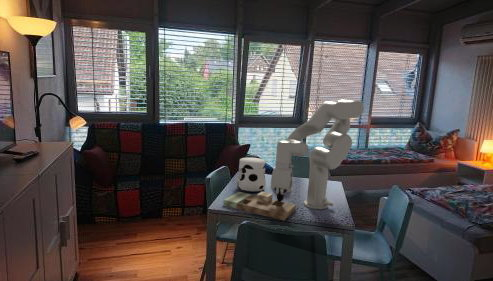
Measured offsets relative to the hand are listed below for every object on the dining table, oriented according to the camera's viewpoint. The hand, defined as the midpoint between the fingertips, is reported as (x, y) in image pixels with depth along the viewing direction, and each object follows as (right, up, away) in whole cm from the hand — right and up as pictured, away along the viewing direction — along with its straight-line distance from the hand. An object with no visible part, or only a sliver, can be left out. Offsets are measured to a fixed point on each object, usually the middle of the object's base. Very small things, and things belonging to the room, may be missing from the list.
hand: (279, 200), depth 168 cm
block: (-7, -1, +4) cm, 8 cm away
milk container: (-14, +1, +30) cm, 33 cm away
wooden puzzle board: (-10, -4, +1) cm, 11 cm away
